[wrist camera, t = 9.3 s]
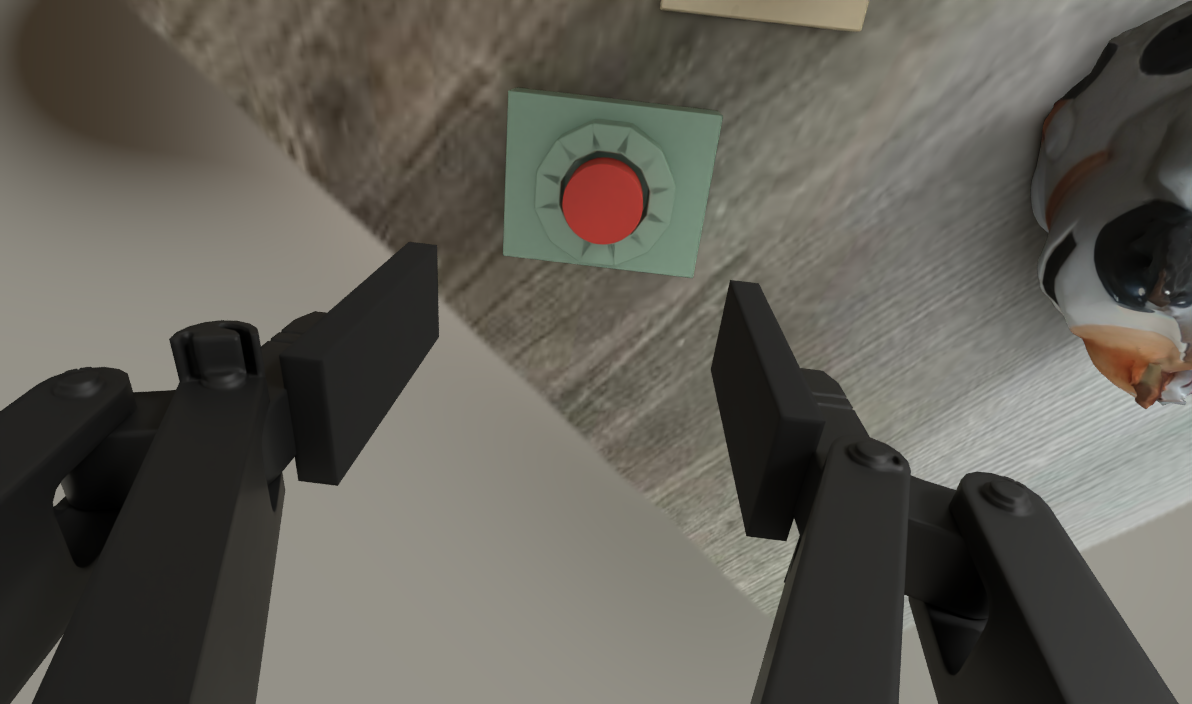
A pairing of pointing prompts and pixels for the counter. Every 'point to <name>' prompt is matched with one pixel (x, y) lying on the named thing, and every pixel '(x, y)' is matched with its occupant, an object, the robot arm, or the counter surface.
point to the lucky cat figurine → (1125, 209)
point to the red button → (603, 201)
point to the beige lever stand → (781, 11)
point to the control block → (615, 130)
